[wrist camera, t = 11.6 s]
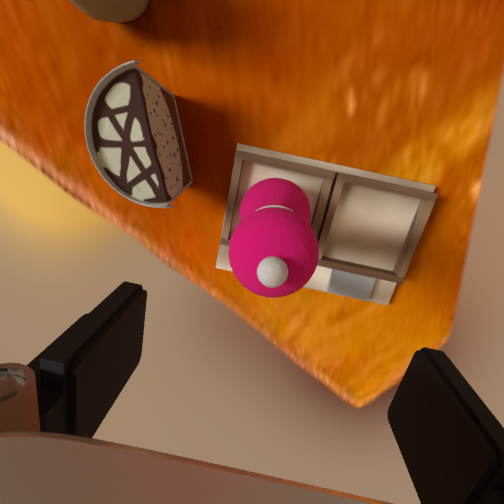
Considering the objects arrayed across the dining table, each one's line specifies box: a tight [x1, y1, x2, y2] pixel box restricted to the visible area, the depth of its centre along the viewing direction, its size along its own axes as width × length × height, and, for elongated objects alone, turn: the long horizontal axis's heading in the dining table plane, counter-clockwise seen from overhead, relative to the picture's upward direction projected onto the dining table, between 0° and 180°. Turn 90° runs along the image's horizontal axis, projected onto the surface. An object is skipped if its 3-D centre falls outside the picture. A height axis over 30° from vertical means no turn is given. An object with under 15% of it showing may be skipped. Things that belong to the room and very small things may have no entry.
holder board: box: [216, 143, 438, 305], centre depth 36 cm, size 15×22×2 cm
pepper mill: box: [228, 178, 319, 297], centre depth 26 cm, size 7×7×20 cm
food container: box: [84, 60, 193, 208], centre depth 31 cm, size 12×6×10 cm, turn 9°
